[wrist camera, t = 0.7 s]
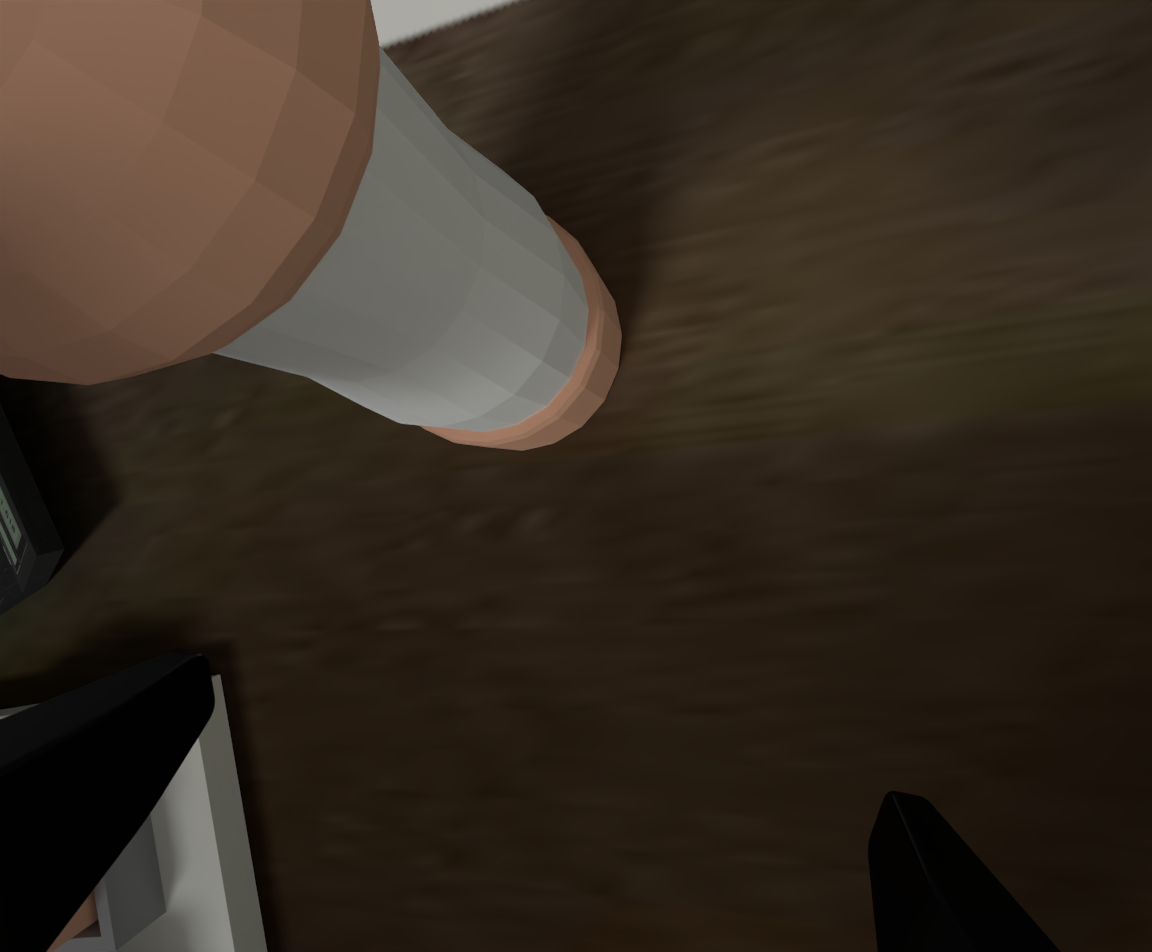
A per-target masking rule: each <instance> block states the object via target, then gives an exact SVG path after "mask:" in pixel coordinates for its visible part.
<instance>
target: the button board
mask: <svg viewBox="0 0 1152 952" xmlns="http://www.w3.org/2000/svg"><path fill="white" fill-rule="evenodd" d="M211 677H212V683H213V689H214V695H215V707H214V711H213V713H212V716H211V718H210V720H209V721H208V723H207V725H206V726H205V728H204V729H203V731H202V733H201V734H200V736H199V737H198V739H197V741H196V742H195V744H194V745H193V747H192V748H191V750H190V752H189V753H188V755H187V756H186V758H185V760H184V761H183V763H182V764H181V766H180V768H179V769H178V771H177V772H176V774H175V776H174V777H173V779H172V780H171V782H170V783H169V785H168V787H167V788H166V790H165V791H164V793H163V795H162V796H161V798H160V799H159V801H158V803H157V804H156V806H155V807H154V809H153V810H152V812H151V813H150V815H149V816H148V818H147V819H146V821H145V822H144V823H143V825H142V826H141V827H140V829H139V830H138V832H137V833H136V834H135V836H134V837H133V839H132V840H131V841H130V842H129V844H128V845H127V846H126V848H125V849H124V850H123V852H122V853H121V854H120V856H119V857H118V858H117V860H116V861H115V862H114V864H113V865H112V866H111V867H110V869H109V870H108V871H107V873H106V874H105V875H104V877H103V878H102V879H101V881H100V882H99V883H98V885H97V886H96V887H95V889H94V894H95V900H96V907H97V913H98V920H97V921H95V922H94V923H92V924H91V925H89V926H88V927H87V928H85V929H84V930H82V931H81V932H79V933H78V934H77V935H75V936H74V937H72V938H71V939H70V940H68V941H67V942H65V943H64V944H62V945H61V946H60V947H58V948H57V949H55V950H54V951H52V952H267V946H266V941H265V935H264V929H263V923H262V917H261V911H260V905H259V899H258V894H257V888H256V882H255V876H254V870H253V864H252V858H251V852H250V847H249V841H248V835H247V829H246V823H245V817H244V811H243V805H242V800H241V794H240V788H239V782H238V776H237V770H236V764H235V758H234V753H233V747H232V741H231V735H230V729H229V723H228V717H227V712H226V706H225V700H224V694H223V688H222V682H221V676H220V675H214V676H211ZM39 704H40V703H39ZM35 705H37V704H33V705H27V706H21V707H15V708H8V709H2V710H0V719H3V718H5V717H7V716H10V715H12V714H15V713H17V712H20V711H22V710H25V709H27V708H30V707H32V706H35Z"/></svg>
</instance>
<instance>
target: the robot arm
mask: <svg viewBox="0 0 1152 952" xmlns="http://www.w3.org/2000/svg"><path fill="white" fill-rule="evenodd" d="M214 707H215V695H214V689H213V683H212V677H211V671H210V665H209V661H208V659H207V658H206V656H205V655H203V654H201V653H197V652H192V651H187V650H182V649H175V650H171V651H168V652H166V653H163V654H161V655H159V656H156V657H154V658H151V659H149V660H146V661H144V662H141V663H139V664H136V665H134V666H131V667H129V668H126V669H124V670H121V671H119V672H116V673H114V674H111V675H109V676H107V677H104V678H102V679H99V680H97V681H94V682H92V683H89V684H87V685H84V686H82V687H79V688H77V689H74V690H72V691H69V692H67V693H64V694H62V695H59V696H57V697H55V698H52V699H50V700H47V701H45V702H42V703H40V704H37V705H35V706H32V707H30V708H27V709H25V710H22V711H20V712H17V713H15V714H12V715H10V716H7V717H5V718H3V719H0V952H47V950H48V949H49V948H50V946H51V945H52V944H53V942H54V941H55V940H56V939H57V937H58V936H59V935H60V933H61V932H62V931H63V929H64V928H65V927H66V925H67V924H68V923H69V921H70V920H71V919H72V917H73V916H74V915H75V914H76V912H77V911H78V910H79V908H80V907H81V906H82V904H83V903H84V902H85V900H86V899H87V898H88V896H89V895H90V894H91V892H92V891H93V890H94V889H95V887H96V886H97V885H98V883H99V882H100V881H101V879H102V878H103V877H104V875H105V874H106V873H107V871H108V870H109V869H110V867H111V866H112V865H113V864H114V862H115V861H116V860H117V858H118V857H119V856H120V854H121V853H122V852H123V850H124V849H125V848H126V846H127V845H128V844H129V842H130V841H131V840H132V839H133V837H134V836H135V834H136V833H137V832H138V830H139V829H140V827H141V826H142V825H143V823H144V822H145V821H146V819H147V818H148V816H149V815H150V813H151V812H152V810H153V809H154V807H155V806H156V804H157V803H158V801H159V799H160V798H161V796H162V795H163V793H164V791H165V790H166V788H167V787H168V785H169V783H170V782H171V780H172V779H173V777H174V776H175V774H176V772H177V771H178V769H179V768H180V766H181V764H182V763H183V761H184V760H185V758H186V756H187V755H188V753H189V752H190V750H191V748H192V747H193V745H194V744H195V742H196V741H197V739H198V737H199V736H200V734H201V733H202V731H203V729H204V728H205V726H206V725H207V723H208V721H209V720H210V718H211V716H212V713H213V711H214ZM868 860H869V870H870V880H871V889H872V899H873V909H874V919H875V929H876V939H877V949H878V952H1061V951H1060V950H1059V949H1058V948H1057V947H1056V946H1055V945H1054V943H1053V942H1052V941H1051V940H1050V939H1049V938H1048V937H1047V935H1046V934H1045V933H1044V932H1043V931H1042V930H1041V929H1040V927H1039V926H1038V925H1037V924H1036V923H1035V922H1034V921H1033V919H1032V918H1031V917H1030V916H1029V915H1028V914H1027V913H1026V911H1025V910H1024V909H1023V908H1022V907H1021V906H1020V905H1019V903H1018V902H1017V901H1016V900H1015V899H1014V898H1013V897H1012V895H1011V894H1010V893H1009V892H1008V891H1007V890H1006V889H1005V887H1004V886H1003V885H1002V884H1001V883H1000V882H999V881H998V879H997V878H996V877H995V876H994V875H993V874H992V873H991V871H990V870H989V869H988V868H987V867H986V866H985V865H984V863H983V862H982V861H981V860H980V859H979V858H978V857H977V855H976V854H975V853H974V852H973V851H972V850H971V849H970V847H969V846H968V845H967V844H966V843H965V842H964V841H963V839H962V838H961V837H960V836H959V835H958V834H957V833H956V831H955V830H954V829H953V828H952V827H951V826H950V825H949V823H948V822H947V821H946V820H945V819H944V818H943V817H942V815H941V814H940V813H939V812H938V811H937V810H936V809H935V807H934V806H933V805H932V804H931V803H930V802H929V801H928V800H927V799H925V798H923V797H921V796H917V795H912V794H907V793H902V792H897V791H890V792H888V793H887V794H886V795H885V797H884V799H883V802H882V805H881V807H880V810H879V813H878V816H877V819H876V821H875V824H874V827H873V830H872V833H871V835H870V839H869V846H868Z"/></svg>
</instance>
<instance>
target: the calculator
mask: <svg viewBox="0 0 1152 952" xmlns="http://www.w3.org/2000/svg"><path fill="white" fill-rule="evenodd" d="M64 549H65V548H64V546H63V544H62V542H61V539H60V537H59V535H58V533H57V530H56V528H55V526H54V524H53V521H52V519H51V517H50V515H49V512H48V510H47V508H46V506H45V503H44V501H43V499H42V497H41V494H40V492H39V490H38V487H37V485H36V483H35V481H34V478H33V476H32V474H31V472H30V469H29V467H28V465H27V463H26V460H25V458H24V456H23V454H22V451H21V449H20V447H19V445H18V442H17V440H16V438H15V436H14V433H13V431H12V429H11V426H10V424H9V422H8V420H7V417H6V415H5V413H4V411H3V408H2V406H1V404H0V614H2V613H3V612H5V611H7V610H8V609H10V608H11V607H13V606H14V605H16V604H18V603H19V602H21V601H22V600H24V599H25V598H27V597H28V596H30V595H32V594H33V593H35V592H36V591H38V590H39V589H41V588H42V587H44V586H46V584H47V582H48V580H49V578H50V576H51V574H52V573H53V571H54V569H55V567H56V565H57V563H58V561H59V559H60V557H61V555H62V553H63V551H64Z"/></svg>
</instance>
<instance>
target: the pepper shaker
mask: <svg viewBox="0 0 1152 952" xmlns="http://www.w3.org/2000/svg"><path fill="white" fill-rule="evenodd" d="M621 339H622V333H621V328H620V323H619V318H618V314H617V309H616V304H615V301H614V299H613V298H612V296H611V294H610V293H609V291H608V289H607V287H606V286H605V284H604V282H603V281H602V279H601V277H600V276H599V274H598V272H597V271H596V269H595V268H594V266H593V264H592V263H591V261H590V260H589V258H588V256H587V255H586V253H585V252H584V250H583V249H582V247H581V245H580V244H579V242H578V241H577V240H576V239H575V238H574V237H573V236H572V235H570V234H569V233H568V232H567V231H566V230H564V229H563V228H562V227H561V226H560V225H559V224H557V223H556V222H555V221H554V220H553V219H551V218H550V217H549V216H547V215H545V214H544V212H543V211H542V209H541V207H540V206H539V204H538V203H537V201H536V199H535V198H534V196H533V195H531V194H530V193H529V192H528V191H527V190H525V189H524V188H523V187H522V186H521V185H519V184H518V183H517V182H516V181H515V180H514V179H512V178H511V177H510V176H509V175H508V174H506V173H505V172H504V171H503V170H502V169H500V168H499V167H498V166H496V165H495V164H494V163H492V162H491V161H490V160H488V159H487V158H486V157H484V156H483V155H482V154H480V153H479V152H478V151H476V150H475V149H474V148H472V147H471V146H470V145H468V144H467V143H466V142H464V141H463V140H462V139H460V138H459V137H458V136H456V135H455V134H454V133H452V132H451V131H450V130H448V129H447V128H446V126H445V125H444V124H443V123H442V122H441V120H440V119H439V118H438V117H437V115H436V114H435V113H434V112H433V111H432V109H431V108H430V107H429V106H428V105H427V103H426V102H425V101H424V100H423V98H422V97H421V96H420V95H419V94H418V92H417V91H416V90H415V89H414V88H413V86H412V85H411V84H410V83H409V81H408V80H407V79H406V78H405V77H404V75H403V74H402V73H401V72H400V71H399V69H398V68H397V67H396V66H395V64H394V63H393V62H392V61H391V60H390V58H389V57H388V56H387V55H386V54H385V52H384V51H383V50H382V49H381V47H380V46H379V42H378V36H377V31H376V26H375V21H374V16H373V12H372V6H371V1H370V0H0V374H2V375H4V376H6V377H9V378H18V379H29V380H39V381H50V382H61V383H72V384H83V385H92V384H97V383H102V382H107V381H112V380H117V379H122V378H127V377H132V376H136V375H140V374H143V373H147V372H150V371H153V370H157V369H160V368H164V367H167V366H171V365H174V364H177V363H181V362H184V361H188V360H191V359H194V358H198V357H201V356H205V355H208V354H210V353H215V354H219V355H223V356H227V357H231V358H235V359H239V360H242V361H246V362H250V363H254V364H258V365H262V366H266V367H270V368H274V369H278V370H282V371H286V372H290V373H294V374H298V375H302V376H306V377H308V378H310V379H312V380H314V381H316V382H318V383H320V384H322V385H324V386H326V387H328V388H329V389H331V390H333V391H335V392H337V393H339V394H341V395H343V396H345V397H347V398H349V399H350V400H352V401H354V402H356V403H358V404H360V405H362V406H364V407H366V408H368V409H370V410H372V411H374V412H377V413H379V414H381V415H383V416H385V417H387V418H390V419H392V420H394V421H396V422H398V423H401V424H411V425H420V426H421V427H422V428H424V429H426V430H428V431H430V432H432V433H434V434H437V435H439V436H441V437H443V438H445V439H447V440H450V441H452V442H454V443H459V444H467V445H475V446H483V447H491V448H501V449H511V450H521V451H523V450H528V449H532V448H536V447H541V446H545V445H549V444H554V443H556V442H557V441H559V440H561V439H562V438H564V437H565V436H567V435H569V434H570V433H572V432H574V431H575V430H577V429H579V428H580V427H582V426H583V425H584V424H585V423H586V422H587V420H588V419H589V418H590V417H591V416H592V415H593V413H594V412H595V411H596V410H597V409H598V408H599V407H600V405H601V404H602V403H603V402H604V401H605V399H606V396H607V394H608V392H609V390H610V387H611V385H612V383H613V380H614V378H615V376H616V373H617V371H618V368H619V359H620V349H621Z"/></svg>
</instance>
